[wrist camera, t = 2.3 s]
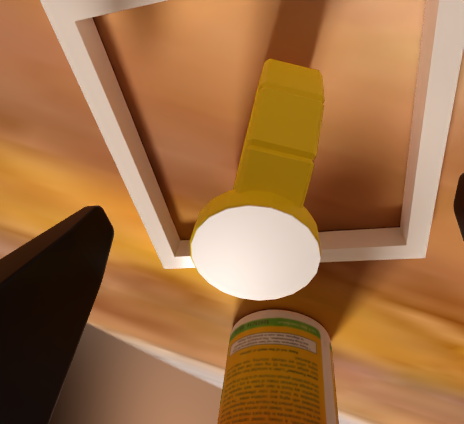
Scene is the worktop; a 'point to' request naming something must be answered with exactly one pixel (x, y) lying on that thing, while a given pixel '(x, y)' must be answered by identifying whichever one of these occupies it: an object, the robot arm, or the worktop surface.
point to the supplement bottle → (279, 371)
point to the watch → (267, 194)
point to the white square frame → (331, 243)
